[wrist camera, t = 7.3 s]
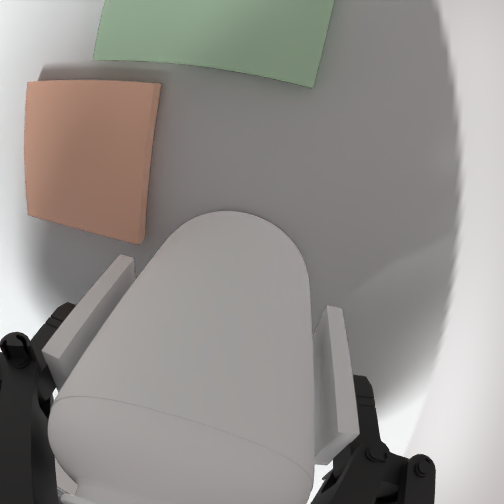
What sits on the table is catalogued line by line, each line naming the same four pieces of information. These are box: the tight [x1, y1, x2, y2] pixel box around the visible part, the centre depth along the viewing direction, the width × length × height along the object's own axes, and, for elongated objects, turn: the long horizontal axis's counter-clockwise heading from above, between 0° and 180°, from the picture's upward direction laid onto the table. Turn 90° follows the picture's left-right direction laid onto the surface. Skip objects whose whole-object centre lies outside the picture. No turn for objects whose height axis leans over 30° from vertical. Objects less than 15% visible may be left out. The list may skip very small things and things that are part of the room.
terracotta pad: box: [24, 80, 162, 245], centre depth 14 cm, size 8×8×1 cm
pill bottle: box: [48, 211, 315, 504], centre depth 10 cm, size 8×8×15 cm
